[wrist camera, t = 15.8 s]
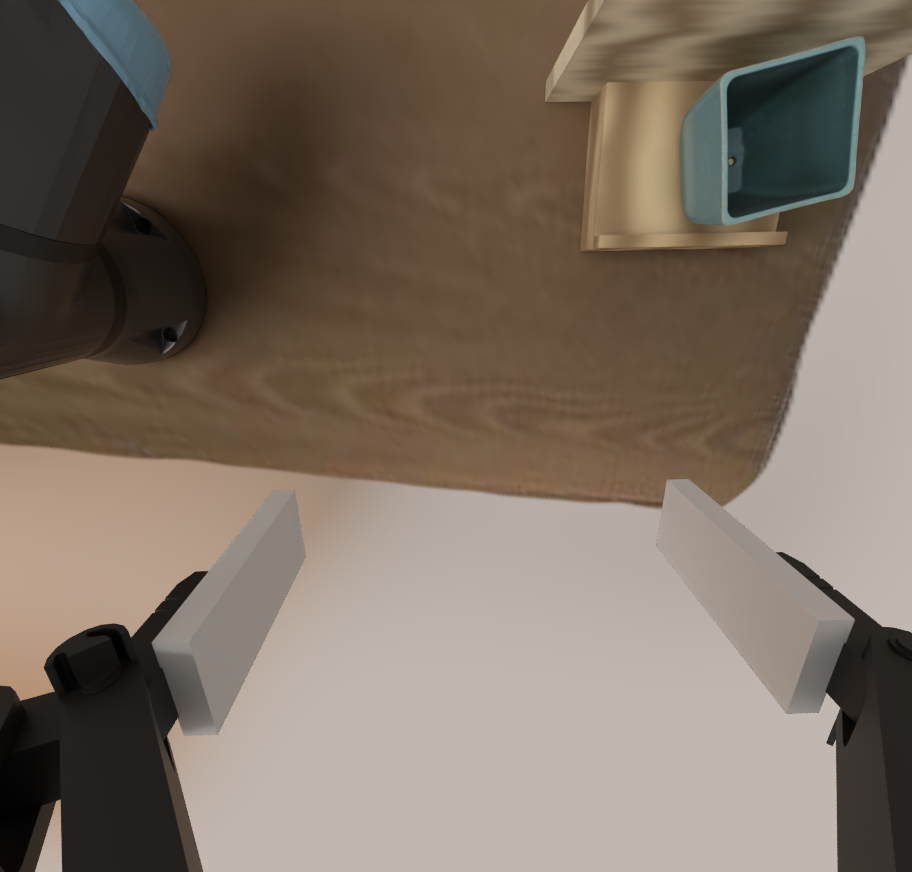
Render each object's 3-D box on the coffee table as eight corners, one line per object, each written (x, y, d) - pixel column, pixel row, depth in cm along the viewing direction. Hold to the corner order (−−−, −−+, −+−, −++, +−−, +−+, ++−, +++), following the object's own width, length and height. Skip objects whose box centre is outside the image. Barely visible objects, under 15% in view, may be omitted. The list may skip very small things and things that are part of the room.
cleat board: (538, 252, 42) (629, 230, 21) (546, 81, 37) (673, -163, 16) (784, 247, 42) (1109, 220, 21) (822, 76, 37) (1288, -167, 17)
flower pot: (763, 211, 37) (856, 193, 29) (661, 238, 38) (723, 227, 29) (764, 91, 34) (869, 31, 26) (653, 121, 35) (720, 72, 26)
